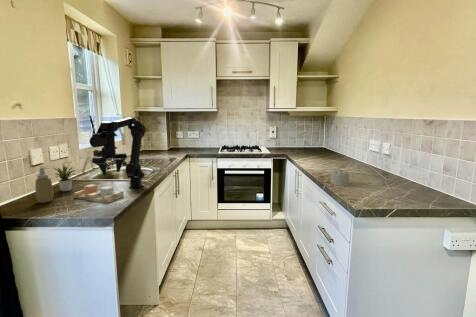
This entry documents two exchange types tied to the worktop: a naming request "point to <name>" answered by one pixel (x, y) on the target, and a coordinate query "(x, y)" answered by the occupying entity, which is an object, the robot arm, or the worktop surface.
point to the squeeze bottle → (44, 187)
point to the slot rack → (98, 196)
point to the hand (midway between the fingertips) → (111, 173)
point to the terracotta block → (90, 189)
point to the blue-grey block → (106, 191)
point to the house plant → (65, 178)
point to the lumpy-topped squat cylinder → (340, 177)
